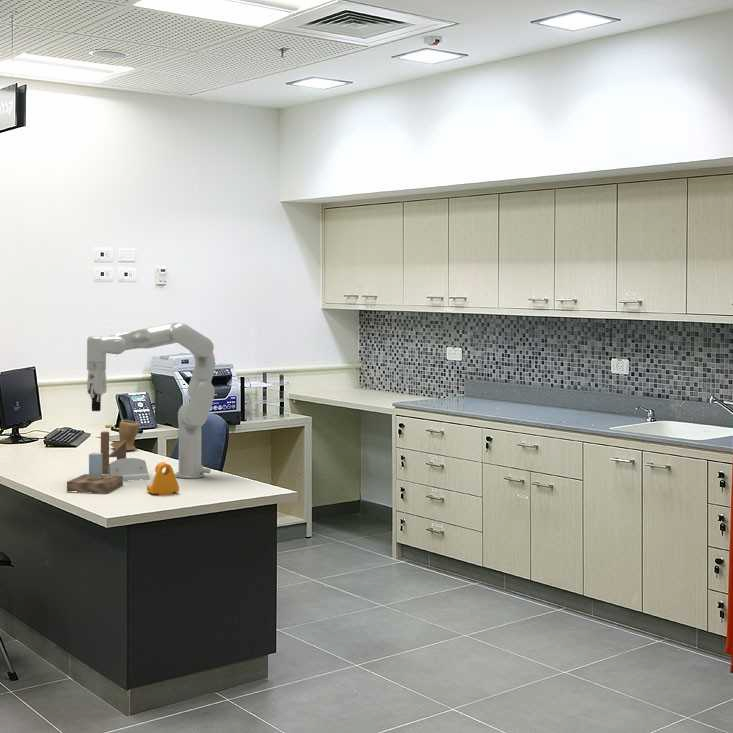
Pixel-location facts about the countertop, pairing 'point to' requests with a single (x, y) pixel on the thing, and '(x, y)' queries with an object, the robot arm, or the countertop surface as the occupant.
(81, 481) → the board
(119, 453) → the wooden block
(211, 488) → the countertop surface
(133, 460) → the hinge
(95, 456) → the peg
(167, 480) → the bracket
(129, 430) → the brown flared piece
